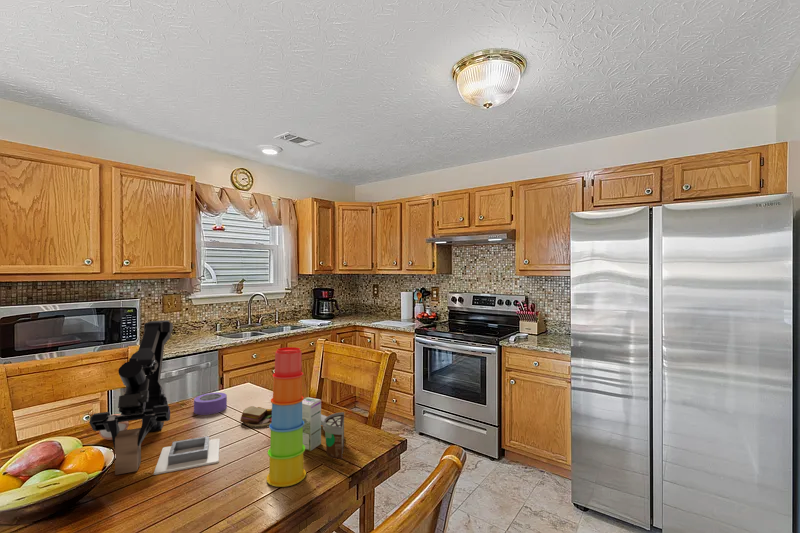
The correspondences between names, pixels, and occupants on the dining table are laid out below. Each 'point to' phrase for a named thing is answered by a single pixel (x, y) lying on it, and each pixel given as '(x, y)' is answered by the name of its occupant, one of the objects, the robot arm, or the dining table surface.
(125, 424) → the toy ball
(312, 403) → the syrup box
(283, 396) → the stacking cups
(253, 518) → the dining table surface
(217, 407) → the tape roll
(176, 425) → the dining table surface
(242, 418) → the toy sandwich meal
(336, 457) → the food container
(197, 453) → the collar
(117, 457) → the walnut block
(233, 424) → the dining table surface
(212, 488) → the dining table surface
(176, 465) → the mat
